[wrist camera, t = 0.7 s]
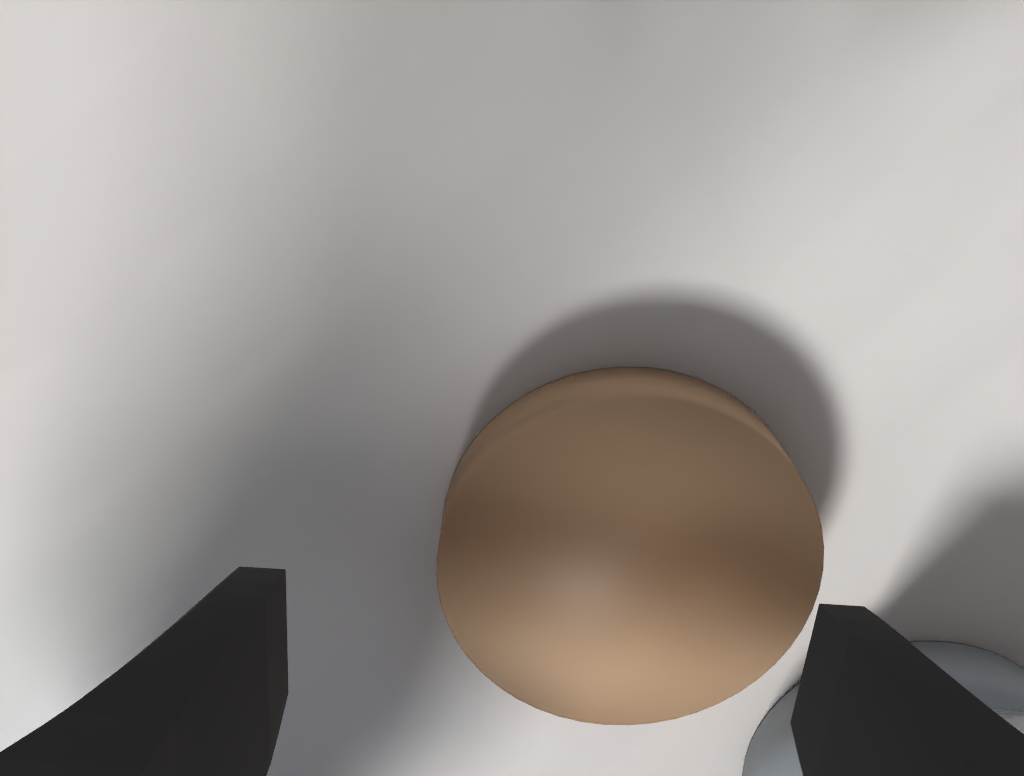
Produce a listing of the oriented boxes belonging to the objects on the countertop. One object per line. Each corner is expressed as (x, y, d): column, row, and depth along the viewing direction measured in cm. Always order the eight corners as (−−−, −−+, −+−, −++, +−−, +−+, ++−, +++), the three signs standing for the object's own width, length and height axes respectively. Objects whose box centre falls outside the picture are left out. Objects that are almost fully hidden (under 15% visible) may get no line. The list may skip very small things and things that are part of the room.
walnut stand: (762, 688, 25) (780, 737, 23) (432, 663, 24) (425, 711, 23) (837, 384, 21) (865, 415, 20) (454, 350, 21) (449, 379, 19)
